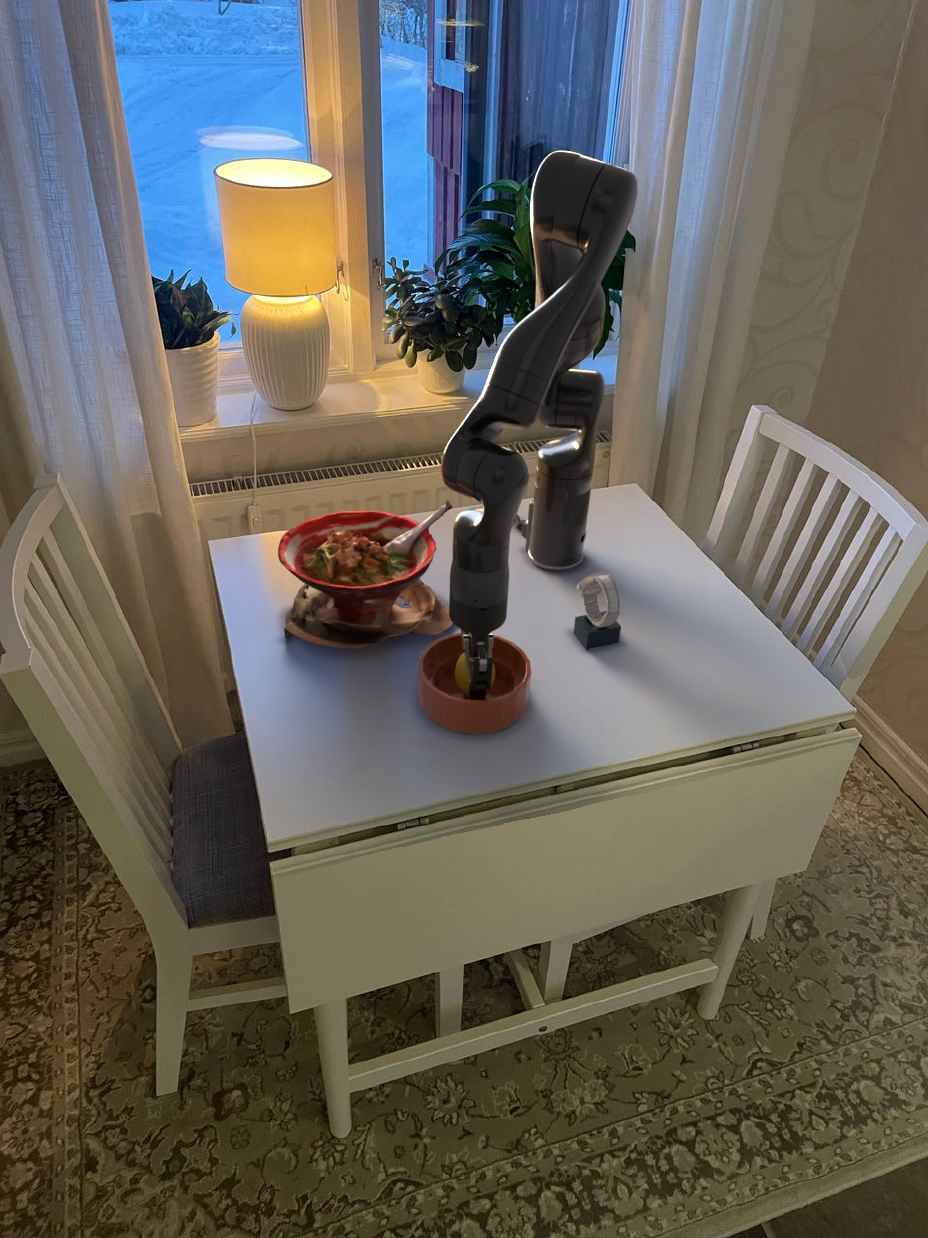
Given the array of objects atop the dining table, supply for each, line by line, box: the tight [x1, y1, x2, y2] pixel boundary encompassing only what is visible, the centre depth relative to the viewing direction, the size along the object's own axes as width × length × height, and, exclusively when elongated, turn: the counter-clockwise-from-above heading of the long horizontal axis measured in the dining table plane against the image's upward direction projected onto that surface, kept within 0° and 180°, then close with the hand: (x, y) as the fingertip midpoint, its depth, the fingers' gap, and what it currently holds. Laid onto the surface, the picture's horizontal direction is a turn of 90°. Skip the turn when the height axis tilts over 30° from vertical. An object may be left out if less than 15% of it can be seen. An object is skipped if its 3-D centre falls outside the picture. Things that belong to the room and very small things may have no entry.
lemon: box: [455, 652, 495, 696], centre depth 127 cm, size 6×6×8 cm
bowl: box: [417, 632, 532, 734], centre depth 128 cm, size 15×15×6 cm
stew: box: [277, 499, 454, 649], centre depth 141 cm, size 28×24×16 cm
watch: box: [572, 572, 622, 651], centre depth 139 cm, size 6×8×11 cm
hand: (474, 688), depth 129 cm, fingers closed on lemon, 5 cm apart
